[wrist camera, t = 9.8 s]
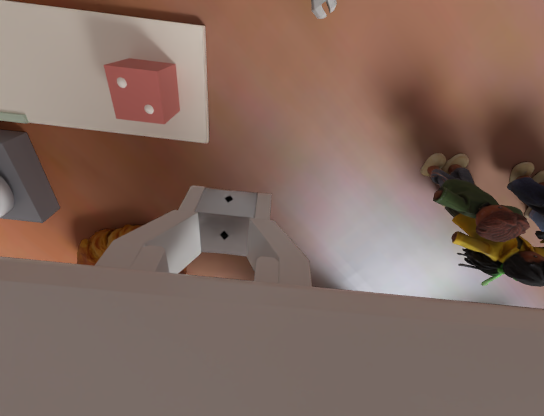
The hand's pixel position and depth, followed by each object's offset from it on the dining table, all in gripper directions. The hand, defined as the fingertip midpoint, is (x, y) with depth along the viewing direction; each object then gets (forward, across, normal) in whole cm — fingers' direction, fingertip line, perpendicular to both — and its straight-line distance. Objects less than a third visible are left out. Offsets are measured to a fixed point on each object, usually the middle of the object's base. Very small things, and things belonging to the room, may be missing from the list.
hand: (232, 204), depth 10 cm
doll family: (+18, -27, +8) cm, 34 cm away
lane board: (+18, +19, -1) cm, 26 cm away
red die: (+18, +10, 0) cm, 20 cm away
